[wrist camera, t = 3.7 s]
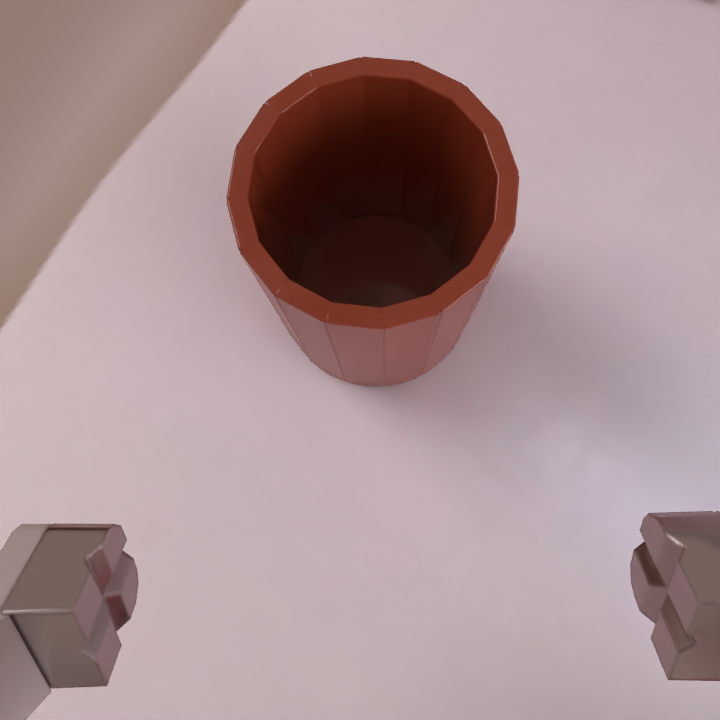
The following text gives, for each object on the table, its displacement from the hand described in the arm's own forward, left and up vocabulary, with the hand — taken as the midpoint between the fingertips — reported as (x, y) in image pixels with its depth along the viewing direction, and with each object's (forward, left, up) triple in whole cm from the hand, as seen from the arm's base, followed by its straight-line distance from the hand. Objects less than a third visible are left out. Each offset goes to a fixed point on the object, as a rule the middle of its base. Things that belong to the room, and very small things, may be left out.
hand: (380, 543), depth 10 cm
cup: (-5, -6, -12) cm, 14 cm away
